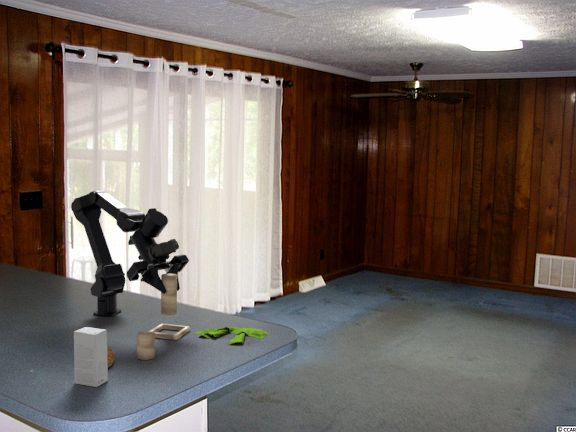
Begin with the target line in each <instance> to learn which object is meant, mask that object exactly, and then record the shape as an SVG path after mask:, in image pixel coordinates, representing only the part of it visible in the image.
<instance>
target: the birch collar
mask: <svg viewBox="0 0 576 432" xmlns="http://www.w3.org/2000/svg"><path fill="white" fill-rule="evenodd" d="M162 330H172V331H177V332H176V333H167V332H161V331H162ZM149 331H151V332H154V333H155V339H156V338H157V339H164V340H165V339H166V340H176V341H178V340H179V339H180V338H181V337H183V336H185V334H187V333H188V332H190V331H191V326H189V325H179V324H171V323H170V324H169V323H160V324H159V325H157V326H155V327H154V328H152V329H150V330H149Z"/></svg>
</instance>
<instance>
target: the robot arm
mask: <svg viewBox="0 0 576 432" xmlns="http://www.w3.org/2000/svg"><path fill="white" fill-rule="evenodd" d="M70 208H71V211H72V213H73V216H74V217H75V219H76V220H77V221H78V222H79V223H80V224H81V225H82V226H83V228H84V231H85V234H86V237H87V240H88V243H89V246H90V248H91V249H90V250H91V252H92V255H93V259H94V261H95V264H96V269H95V274H94V278H95V281H94V282H93V284H92V285H91V287H90V295H91V296H92V297H97V300H96V302H97V303H96V305H97V306H96V309H97V310H96V311H94V312H93V313H92V314H93V315H95V316H96V315H97V316H106V317H113V316H115V315H116V314H119V313H120V312H122V309H119V308H118V295H119V294H123V293H124V289H125V285H126V277H127V279H128V281H129V282H135V281H139V279H140V276H141V279H140V281H141V282H144V283H146V284H148V285H149V286H151V287H152V288H154V289H156V290H158V292H160V293H161V292H162V293H164V294H165V293H166V292H167V291H166V289H165V286H164V284H163V282H162V281H161V276H160V275H159V271H162V270H164V272H165V274H168V273H172V274H177V292H178V291H179V290H180V289H181V287H180V286H181V285H180V281H179V273H180V272H182V271H183V270H184V268H185V267H186V266H187V265H188V263H189V262H190V259H189V258H188V256H187V255H186V254H179V255H174V256H173V257H172V258H171V260H169V258H170V257H171V256H170V255H172V254H173V253H176V252H177V250H179V248H180V245H179V242H178V241H177V240H176V238H171V239H170V240H167V241H163V242H159V243H157V241H156V239H155V238H157V237H159V236H160V234H161V233H162V231H163V230H164V229H165V228H166V227H167V225H168V223H169V218H168V217H167V215H165V214H164V213H163V212H161V211H159V210H157V208H155V207H154V208H149V209H148V210H147V212H146V214H145V213H144V212H143V211H140V210H137V209H135V208H130V207H127V206H126V205H124V204H123V203H122V202H120V201H119V200H117V198H114V197H113V196H112V195H110V193H109V192H108V191H107V190H104V189H103V190H101V189H100V190H99V189H98V190H93V191H90V192H89V193H87V194H85V195H82V196H79V197H76V198H74V199H73V201H72V202H71V205H70ZM102 210H103V211H104V212H106V213H107V214H109V215H110V216H111V217H112V218H113V219H115V220H116V225H117V226H118V228H119V229H120V230H121V231H122V232H124V233H133V234H131V235H129V239H128V242H127V244H128V245H129V246H133V245H134V246H135V248H136V250H137V252H138V254H139V256H137V258H138V261H134V262H133V263H132V264H131V266H130V267H129V268H128V270H127V271H126V274H125V273H124V271H123V267H122V266H123V265H122V264H121V263H116V262H114V260H113V258H112V256H111V252H110V249H109V246H108V242H107V240H106V238H105V234H104V231H103V228H102V226H101V221H100V218H101V215H102ZM167 260H169V261H167ZM140 274H141V275H140ZM125 276H126V277H125Z"/></svg>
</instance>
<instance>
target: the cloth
mask: <svg viewBox="0 0 576 432" xmlns="http://www.w3.org/2000/svg"><path fill="white" fill-rule="evenodd" d="M228 333H229V334H232V335H233V334H234V335H235V336H234V338H232V339H230V340H229V342H228V343H227V345H228V346H231V345H236V346H237V345H242V346H243V345H244V341H245V336H246V335H247V336H248V337H251V338H256V339H263V338H266V336H269V335H270V333H268V332H267V331H265V330H263V329H260V328H259V329H258V328H255V327H235V326H234V327H233V326H224V327H217V328H213V329H212V328H206V329H203V330H197V331H195V332H194V334H198V335H199V336H198V339H200V338H206V339H208V340H209V339H210V340H215V339H217V338H220V337H221V336H224V335H227V334H228Z"/></svg>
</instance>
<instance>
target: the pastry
mask: <svg viewBox="0 0 576 432" xmlns="http://www.w3.org/2000/svg"><path fill="white" fill-rule="evenodd" d="M114 358H115V354H114V352H113V349H112V348H111V347H110V346H107V364H108V368H110V367H111V366H112V365H113V363H114V361H115V359H114Z"/></svg>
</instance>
